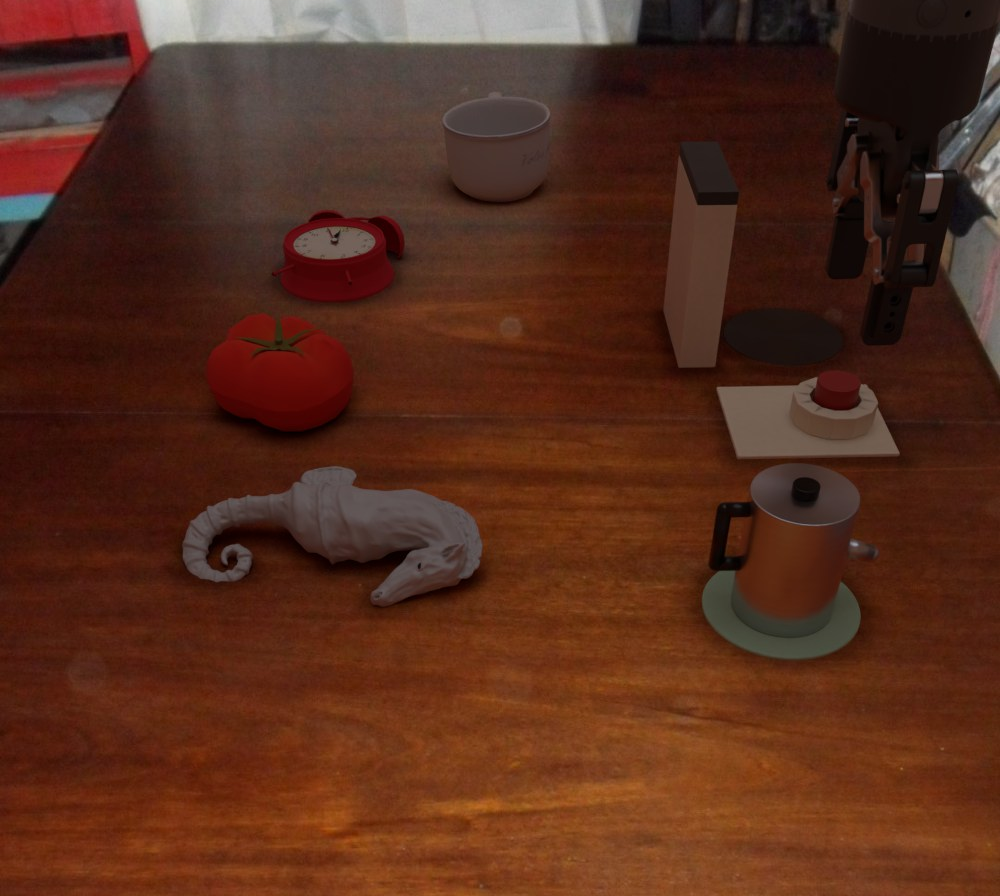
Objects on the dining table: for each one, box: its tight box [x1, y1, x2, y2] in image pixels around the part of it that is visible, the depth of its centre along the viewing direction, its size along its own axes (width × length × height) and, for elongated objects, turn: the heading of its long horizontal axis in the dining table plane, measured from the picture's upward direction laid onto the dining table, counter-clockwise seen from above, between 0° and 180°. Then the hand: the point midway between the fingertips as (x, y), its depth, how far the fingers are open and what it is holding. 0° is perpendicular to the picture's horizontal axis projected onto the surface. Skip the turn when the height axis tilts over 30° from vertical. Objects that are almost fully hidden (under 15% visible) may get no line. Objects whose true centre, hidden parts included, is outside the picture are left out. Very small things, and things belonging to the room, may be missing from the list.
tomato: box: [205, 312, 355, 432], centre depth 92 cm, size 10×11×6 cm
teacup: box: [441, 91, 552, 203], centre depth 122 cm, size 14×11×8 cm
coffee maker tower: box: [662, 141, 740, 369], centre depth 96 cm, size 3×10×15 cm, turn 2°
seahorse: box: [181, 465, 484, 608], centre depth 78 cm, size 5×12×20 cm
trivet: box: [700, 571, 862, 661], centre depth 76 cm, size 10×10×1 cm
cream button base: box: [715, 376, 901, 460], centre depth 90 cm, size 12×10×3 cm
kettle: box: [708, 462, 880, 638], centre depth 72 cm, size 10×6×9 cm, turn 92°
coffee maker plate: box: [722, 307, 844, 367], centre depth 101 cm, size 10×10×1 cm
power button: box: [813, 369, 862, 411], centre depth 89 cm, size 3×3×2 cm
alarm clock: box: [271, 209, 406, 304], centre depth 109 cm, size 10×6×15 cm
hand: (859, 308), depth 72 cm, fingers open, 8 cm apart
